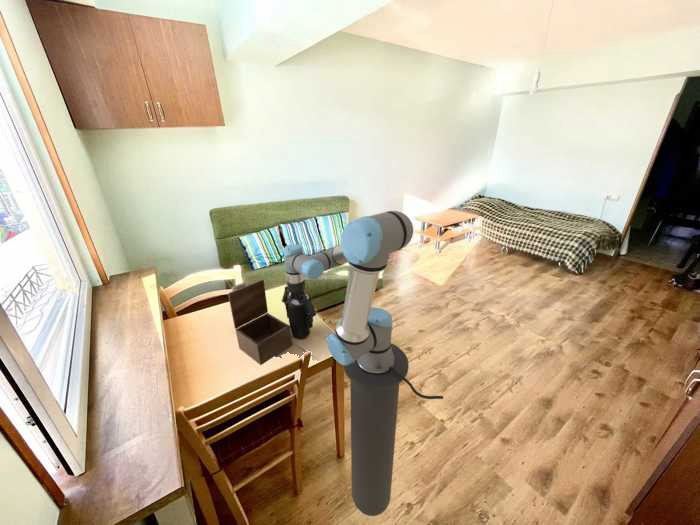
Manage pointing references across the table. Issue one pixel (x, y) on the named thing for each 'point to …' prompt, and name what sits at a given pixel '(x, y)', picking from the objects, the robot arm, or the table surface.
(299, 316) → the portable speaker
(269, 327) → the chest
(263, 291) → the lid
